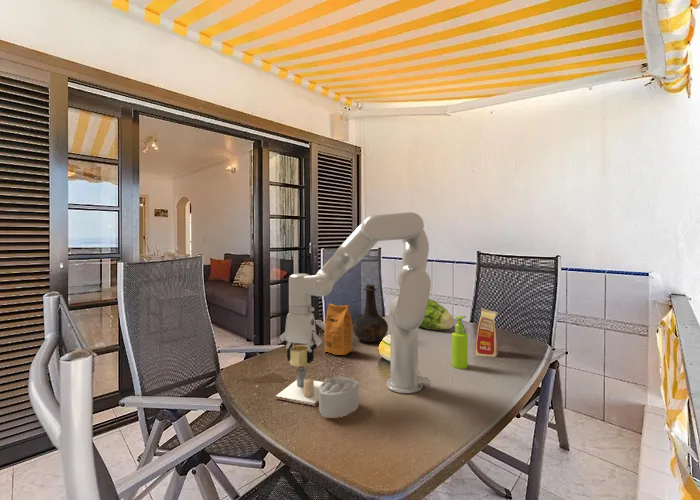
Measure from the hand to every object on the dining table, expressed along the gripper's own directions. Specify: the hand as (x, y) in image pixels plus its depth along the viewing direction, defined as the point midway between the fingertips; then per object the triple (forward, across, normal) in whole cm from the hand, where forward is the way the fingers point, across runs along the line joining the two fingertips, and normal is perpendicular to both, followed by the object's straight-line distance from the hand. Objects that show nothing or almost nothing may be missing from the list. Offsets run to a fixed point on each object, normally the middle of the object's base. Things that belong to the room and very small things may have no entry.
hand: (300, 360), depth 121 cm
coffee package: (+10, +3, -39) cm, 41 cm away
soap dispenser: (+9, -50, -40) cm, 65 cm away
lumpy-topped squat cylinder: (+10, -18, +8) cm, 22 cm away
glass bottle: (+10, -5, -62) cm, 63 cm away
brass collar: (+1, 0, 0) cm, 1 cm away
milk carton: (+9, -60, -60) cm, 86 cm away
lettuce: (+9, -32, -93) cm, 99 cm away
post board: (+10, -3, +2) cm, 11 cm away
